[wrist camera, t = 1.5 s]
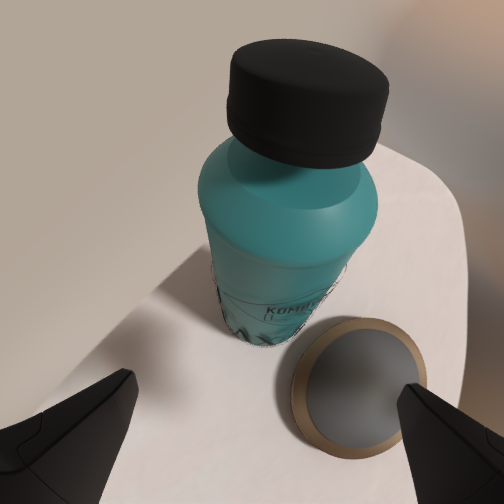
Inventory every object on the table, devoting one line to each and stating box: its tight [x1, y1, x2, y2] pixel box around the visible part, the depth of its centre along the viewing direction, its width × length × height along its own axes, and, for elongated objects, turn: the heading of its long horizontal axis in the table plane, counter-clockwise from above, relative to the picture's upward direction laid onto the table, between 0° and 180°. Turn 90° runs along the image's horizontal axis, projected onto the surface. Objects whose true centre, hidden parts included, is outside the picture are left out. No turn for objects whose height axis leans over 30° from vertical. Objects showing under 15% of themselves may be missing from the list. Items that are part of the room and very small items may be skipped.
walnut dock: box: [291, 318, 427, 459], centre depth 18 cm, size 12×12×2 cm
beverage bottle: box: [198, 39, 389, 348], centre depth 14 cm, size 6×7×20 cm
